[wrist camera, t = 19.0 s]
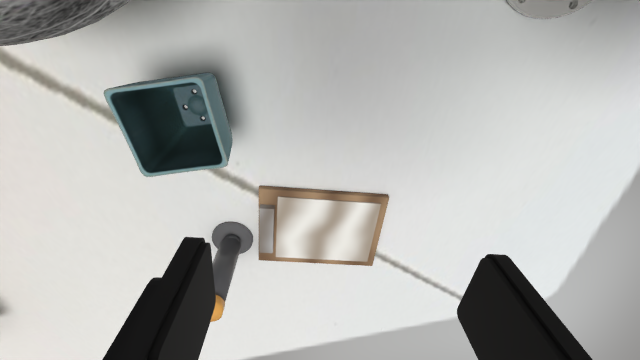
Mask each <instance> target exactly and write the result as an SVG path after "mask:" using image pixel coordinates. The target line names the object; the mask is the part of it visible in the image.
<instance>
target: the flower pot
mask: <svg viewBox="0 0 640 360" xmlns="http://www.w3.org/2000/svg"><path fill="white" fill-rule="evenodd" d="M193 89H195V90H196V91H197V93H196V94H194V93H193V92H192V90H193ZM104 96H105V98H106V101H107V103H108V105H109V107H110V109H111V111H112V113H113V115H114V117H115V119H116V121H117V123H118V125H119V127H120V129H121V131H122V133H123V135H124V137H125V139H126V141H127V143H128V145H129V147H130V150H131V152H132V154H133V156H134V158H135V160H136V162H137V165H138V167H139V169H140V171H141V173H142V174H143V175H144V176H146V177H153V176H160V175H167V174H174V173H182V172H189V171H197V170H205V169H215V168H222V167H226V166H227V165H228V160H229V156H230V152H231V147H232V134H231V130H230V126H229V123H228V120H227V116H226V113H225V109H224V106H223V102H222V99H221V95H220V92H219V88H218V84H217V81H216V78H215V76H214V75H213V74H211V73H202V74H195V75H188V76H181V77H173V78H166V79H158V80H151V81H143V82H137V83H132V84H127V85H123V86H118V87H114V88H109V89H106V90H105V91H104ZM184 105H187V106H188V108H187V109H184V107H183V106H184ZM202 116H204V117H205V120H202V119H201V117H202Z"/></svg>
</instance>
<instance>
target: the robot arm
mask: <svg viewBox="0 0 640 360" xmlns="http://www.w3.org/2000/svg"><path fill="white" fill-rule="evenodd" d="M591 1H593V0H507V2H508V3H509V4H510V5H511V6H512V7H513V8H514V9H515V10H516V11H517V12H519V13H521V14H523V15H525V16H528V17H532V18H541V19H549V18H558V17H561V16H565V15H568V14H571V13H573V12H575V11H577V10H579V9H581V8H583V7H584V6H586V5H587V4H588V3H590V2H591ZM215 303H216V295H215V285H214V275H213V265H212V256H211V246H210V243H205V240H204V238H193V237H185V238H184V239H183V241H182V243H181V244H180V246H179V248H178V250H177V251H176V253H175V255H174V257H173V259H172V260H171V262H170V264H169V266H168V268H167V269H166V271H165V273H164V275H163V277H162V278H153V279H152V280H150V282H149V283H148V284H147V286H146V288H145V289H144V291H143V293H142V294H141V296H140V298H139V299H138V301H137V303H136V304H135V306H134V308H133V309H132V311H131V313H130V315H129V316H128V318H127V320H126V321H125V323H124V325H123V326H122V328H121V330H120V331H119V333H118V335H117V336H116V338H115V340H114V341H113V343H112V345H111V346H110V348H109V350H108V351H107V353H106V355H105V356H104V358H103V360H198V358H199V355H200V352H201V349H202V346H203V343H204V339H205V336H206V333H207V330H208V327H209V324H210V321H211V318H212V315H213V311H214V308H215ZM457 315H458V319H459V321H460V323H461V325H462V327H463V329H464V331H465V333H466V335H467V337H468V339H469V341H470V343H471V346H472V348H473V349H474V351H475V354H476V356H477V358H478V360H592V358H591V357H590V356H589V355H588V354H587V352H586V351H585V350H584V349H583V347H582V346H581V345H580V344H579V342H578V341H577V340H576V339H575V338H574V336H573V335H572V334H571V333H570V331H569V330H568V329H567V328H566V326H565V325H564V324H563V323H562V322H561V320H560V319H559V318H558V317H557V316H556V314H555V313H554V312H553V311H552V309H551V308H550V307H549V306H548V305H547V303H546V302H545V301H544V299H543V298H542V297H541V296H540V295H539V293H538V292H537V291H536V290H535V288H534V287H533V286H532V285H531V284H530V282H529V281H528V280H527V279H526V277H525V276H524V275H523V274H522V272H521V271H520V270H519V269H518V268H517V266H516V265H515V264H514V263H513V261H512V260H511V259H510V258H509V257H508V256H506V255H496V254H488V255H486V256H485V258H483V259H481V261H480V263H479V265H478V267H477V269H476V271H475V273H474V275H473V277H472V279H471V281H470V283H469V285H468V288H467V290H466V292H465V294H464V296H463V298H462V300H461V302H460V304H459V306H458V309H457Z"/></svg>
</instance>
